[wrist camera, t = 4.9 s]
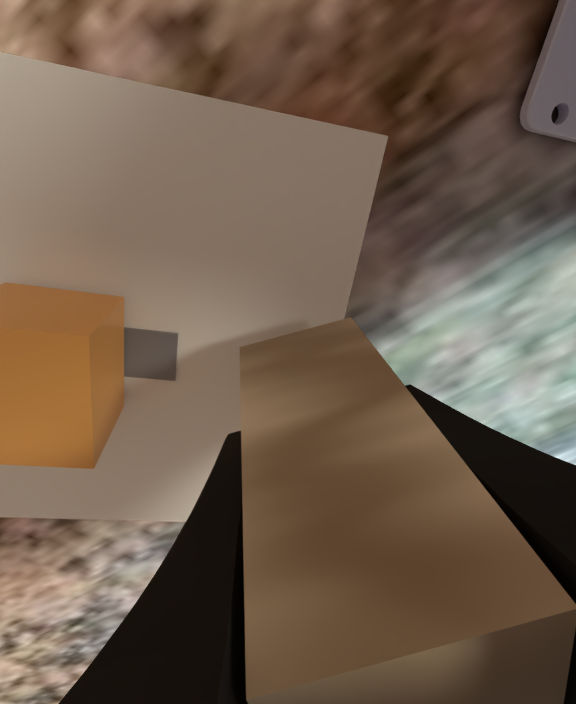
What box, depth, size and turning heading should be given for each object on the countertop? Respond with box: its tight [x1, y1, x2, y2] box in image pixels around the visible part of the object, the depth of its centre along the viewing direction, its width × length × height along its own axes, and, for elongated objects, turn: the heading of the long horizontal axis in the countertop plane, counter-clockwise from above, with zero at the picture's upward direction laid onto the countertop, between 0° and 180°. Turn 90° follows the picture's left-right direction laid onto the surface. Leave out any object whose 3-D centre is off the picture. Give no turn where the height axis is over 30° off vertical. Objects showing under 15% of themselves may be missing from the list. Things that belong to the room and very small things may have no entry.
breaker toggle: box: [0, 282, 124, 469], centre depth 10 cm, size 3×4×3 cm
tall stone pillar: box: [240, 317, 576, 704], centre depth 8 cm, size 3×3×8 cm
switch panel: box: [0, 52, 388, 522], centre depth 12 cm, size 20×14×1 cm
